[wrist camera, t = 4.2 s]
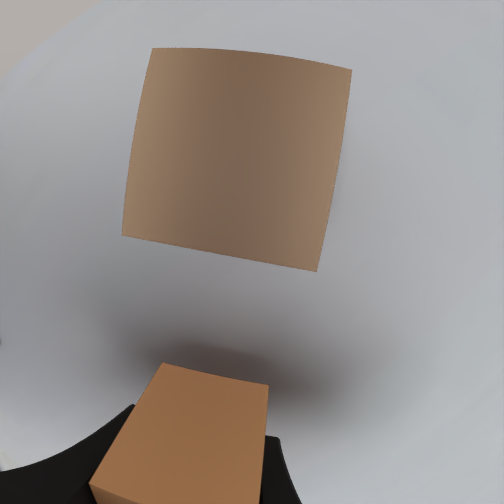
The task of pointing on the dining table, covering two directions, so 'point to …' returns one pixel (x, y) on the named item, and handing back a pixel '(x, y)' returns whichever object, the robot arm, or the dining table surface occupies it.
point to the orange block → (188, 443)
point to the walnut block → (236, 154)
